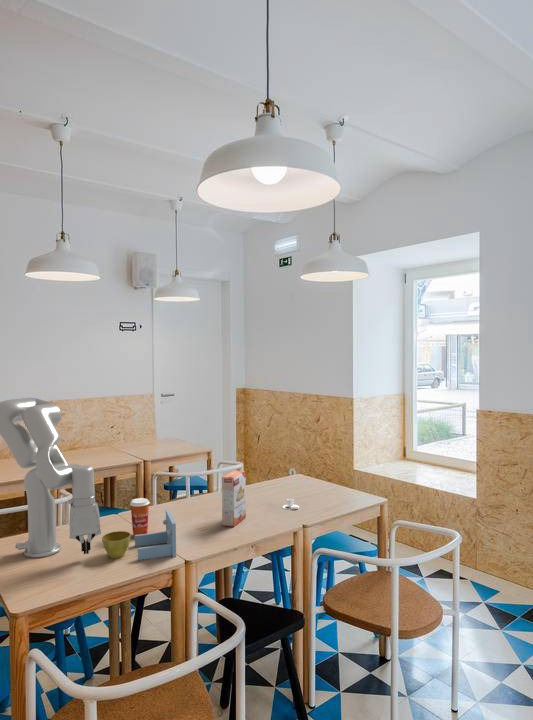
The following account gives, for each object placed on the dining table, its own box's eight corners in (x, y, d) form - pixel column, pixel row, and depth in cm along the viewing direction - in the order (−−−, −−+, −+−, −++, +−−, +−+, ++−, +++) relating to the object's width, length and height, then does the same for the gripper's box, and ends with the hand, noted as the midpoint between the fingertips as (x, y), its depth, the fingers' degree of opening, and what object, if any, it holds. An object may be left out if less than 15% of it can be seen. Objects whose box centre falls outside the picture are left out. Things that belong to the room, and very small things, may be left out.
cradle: (138, 561, 180) (137, 527, 180) (134, 544, 197) (134, 513, 197) (176, 556, 184) (175, 523, 184) (169, 539, 201) (168, 509, 201)
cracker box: (235, 527, 214) (234, 477, 214) (221, 526, 216) (220, 476, 216) (247, 517, 228) (246, 470, 227) (234, 516, 229) (233, 469, 229)
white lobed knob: (299, 510, 237) (299, 502, 237) (282, 511, 237) (282, 502, 237) (298, 505, 246) (298, 496, 245) (282, 505, 246) (282, 497, 246)
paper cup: (130, 539, 203) (129, 503, 202) (130, 532, 210) (129, 498, 210) (150, 536, 205) (150, 502, 204) (149, 530, 212) (149, 497, 212)
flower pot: (108, 563, 179) (108, 543, 179) (97, 555, 187) (97, 535, 187) (135, 555, 185) (135, 536, 185) (124, 548, 193) (123, 529, 193)
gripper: (60, 506, 176) (63, 560, 176) (106, 501, 181) (108, 553, 181) (62, 501, 183) (64, 552, 183) (105, 496, 188) (107, 546, 188)
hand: (86, 552), depth 182 cm, fingers closed
